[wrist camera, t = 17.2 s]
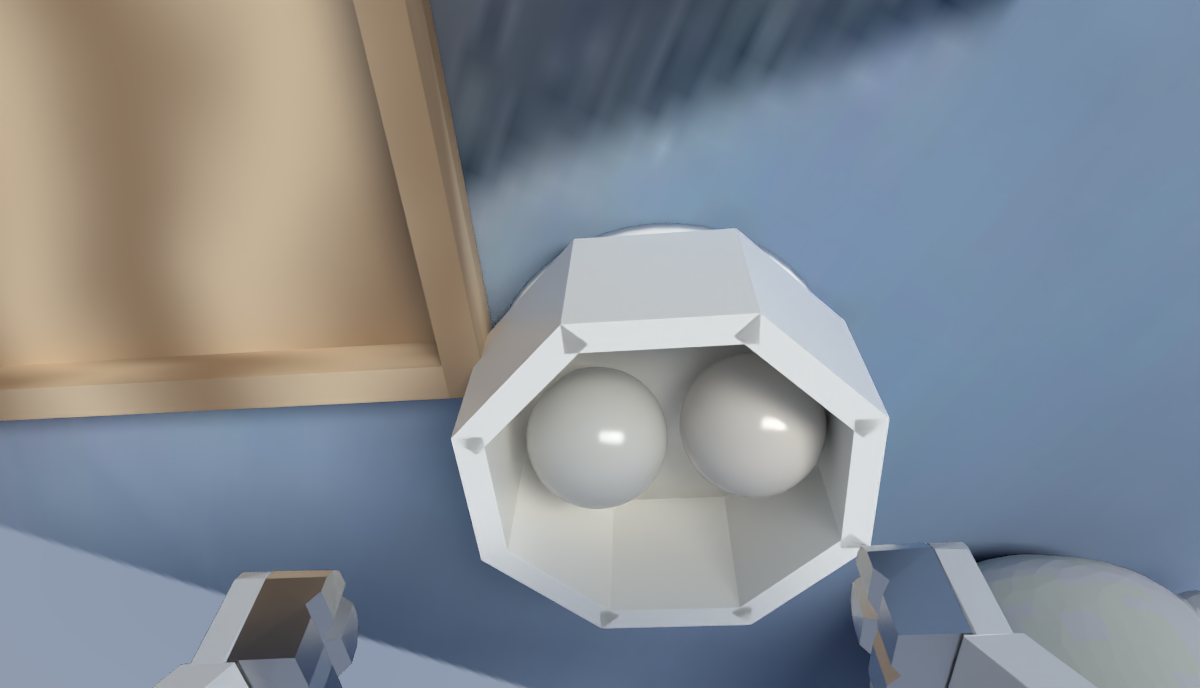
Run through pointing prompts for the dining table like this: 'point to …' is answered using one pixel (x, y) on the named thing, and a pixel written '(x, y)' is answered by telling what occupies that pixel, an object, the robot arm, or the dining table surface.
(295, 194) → the tray
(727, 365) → the pebble
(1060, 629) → the teacup
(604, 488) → the light grey sphere
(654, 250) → the bowl
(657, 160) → the dining table surface
